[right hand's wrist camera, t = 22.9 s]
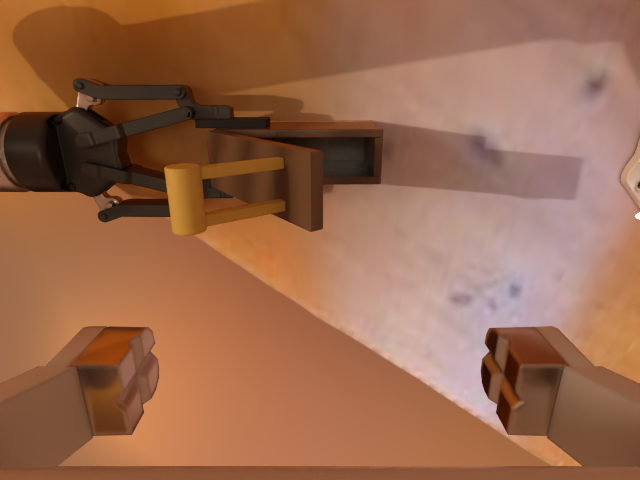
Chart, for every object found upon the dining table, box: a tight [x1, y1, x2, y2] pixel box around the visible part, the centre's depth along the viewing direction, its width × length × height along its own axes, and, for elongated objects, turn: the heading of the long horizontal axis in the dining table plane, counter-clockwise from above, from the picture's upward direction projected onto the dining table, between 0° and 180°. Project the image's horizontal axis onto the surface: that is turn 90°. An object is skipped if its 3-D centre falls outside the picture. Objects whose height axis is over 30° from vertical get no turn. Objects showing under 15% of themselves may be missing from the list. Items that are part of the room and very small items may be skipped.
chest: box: [215, 120, 383, 184], centre depth 42 cm, size 15×5×10 cm, turn 90°
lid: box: [164, 130, 323, 236], centre depth 29 cm, size 16×5×8 cm
